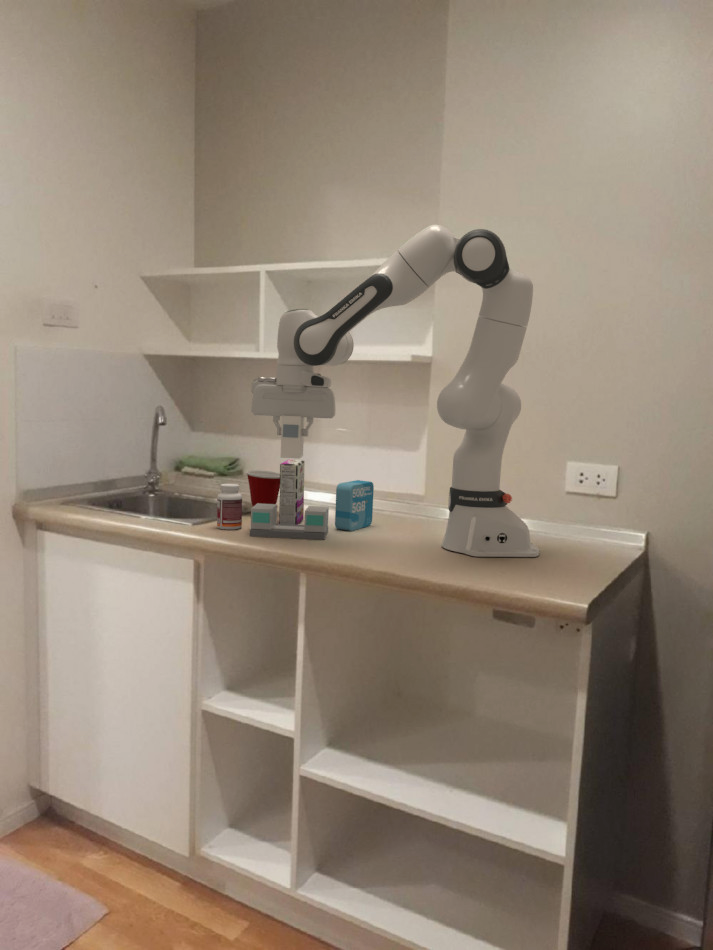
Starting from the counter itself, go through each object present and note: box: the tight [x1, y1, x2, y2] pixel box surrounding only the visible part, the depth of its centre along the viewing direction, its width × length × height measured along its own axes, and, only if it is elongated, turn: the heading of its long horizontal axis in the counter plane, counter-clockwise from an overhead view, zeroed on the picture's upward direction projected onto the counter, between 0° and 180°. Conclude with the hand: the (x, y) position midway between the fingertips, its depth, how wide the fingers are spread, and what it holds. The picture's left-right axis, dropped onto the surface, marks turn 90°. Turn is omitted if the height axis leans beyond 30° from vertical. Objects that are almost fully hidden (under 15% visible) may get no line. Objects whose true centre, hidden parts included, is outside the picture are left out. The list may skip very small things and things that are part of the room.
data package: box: [334, 479, 375, 532], centre depth 195 cm, size 12×4×12 cm, turn 150°
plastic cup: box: [245, 469, 280, 508], centre depth 209 cm, size 11×11×12 cm
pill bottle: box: [216, 483, 243, 531], centre depth 187 cm, size 6×6×11 cm
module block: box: [280, 415, 305, 460], centre depth 180 cm, size 4×7×10 cm, turn 177°
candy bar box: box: [278, 458, 305, 525], centre depth 198 cm, size 11×5×16 cm, turn 174°
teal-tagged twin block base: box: [249, 503, 330, 541], centre depth 183 cm, size 18×10×7 cm, turn 87°
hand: (292, 435), depth 180 cm, fingers closed on module block, 4 cm apart
